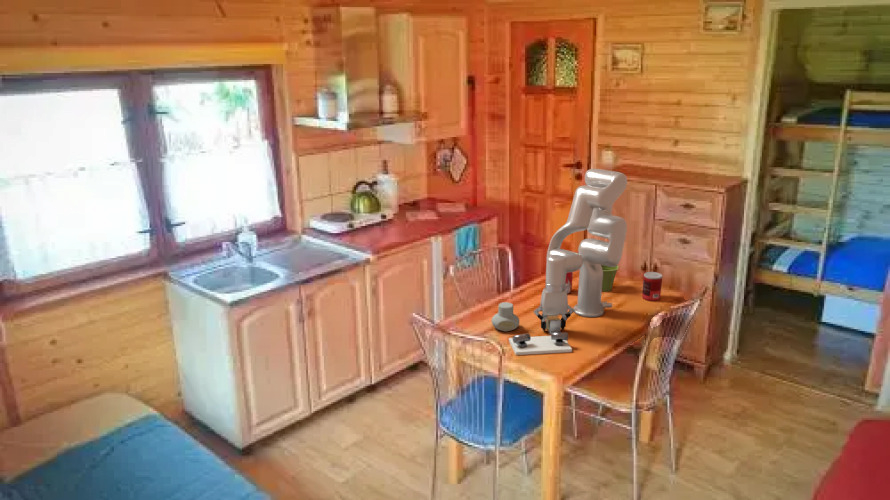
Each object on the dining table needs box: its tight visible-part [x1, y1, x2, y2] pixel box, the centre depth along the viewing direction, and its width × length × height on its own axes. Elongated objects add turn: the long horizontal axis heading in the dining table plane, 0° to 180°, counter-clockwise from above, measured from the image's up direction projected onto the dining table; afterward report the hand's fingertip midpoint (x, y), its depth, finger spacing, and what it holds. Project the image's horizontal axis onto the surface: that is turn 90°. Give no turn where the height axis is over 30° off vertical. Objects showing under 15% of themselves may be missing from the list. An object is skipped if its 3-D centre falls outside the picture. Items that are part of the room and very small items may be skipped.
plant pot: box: [601, 264, 620, 293], centre depth 304 cm, size 12×12×11 cm
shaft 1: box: [512, 332, 532, 348], centre depth 248 cm, size 6×4×4 cm
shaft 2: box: [550, 331, 569, 346], centre depth 250 cm, size 6×4×4 cm
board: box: [508, 335, 573, 356], centre depth 251 cm, size 21×12×1 cm, turn 97°
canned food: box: [641, 271, 663, 302], centre depth 294 cm, size 8×8×11 cm
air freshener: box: [491, 301, 520, 332], centre depth 265 cm, size 11×8×10 cm
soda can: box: [565, 272, 574, 295], centre depth 301 cm, size 7×7×12 cm
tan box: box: [545, 315, 562, 335], centre depth 263 cm, size 6×4×6 cm
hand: (553, 328), depth 263 cm, fingers open, 6 cm apart
